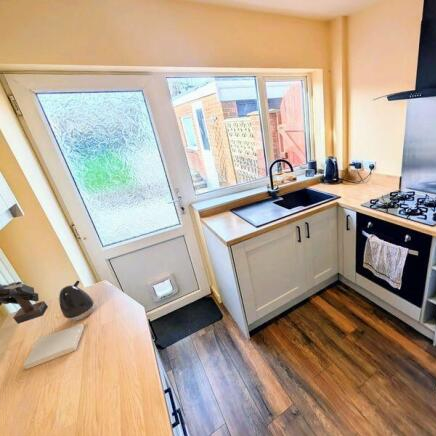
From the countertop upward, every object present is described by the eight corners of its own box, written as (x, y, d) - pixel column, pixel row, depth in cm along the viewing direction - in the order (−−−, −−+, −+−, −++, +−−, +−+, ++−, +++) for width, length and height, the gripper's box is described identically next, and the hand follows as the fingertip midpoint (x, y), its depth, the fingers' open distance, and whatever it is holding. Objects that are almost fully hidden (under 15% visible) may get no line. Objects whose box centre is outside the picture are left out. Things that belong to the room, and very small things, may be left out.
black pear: (103, 305, 109) (88, 278, 103) (83, 324, 100) (65, 296, 93) (83, 305, 111) (67, 278, 104) (62, 324, 101) (42, 296, 95)
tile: (26, 369, 84) (22, 365, 83) (40, 342, 94) (37, 339, 93) (75, 350, 89) (73, 346, 88) (84, 326, 99) (82, 323, 98)
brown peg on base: (17, 324, 86) (-7, 293, 80) (24, 314, 90) (1, 284, 84) (42, 315, 88) (20, 285, 82) (48, 306, 92) (27, 277, 87)
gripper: (-67, 314, 66) (4, 318, 87) (9, 292, 71) (58, 300, 92) (-66, 287, 68) (3, 297, 89) (8, 268, 74) (56, 281, 94)
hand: (31, 299), depth 90 cm, fingers closed on brown peg on base, 3 cm apart
